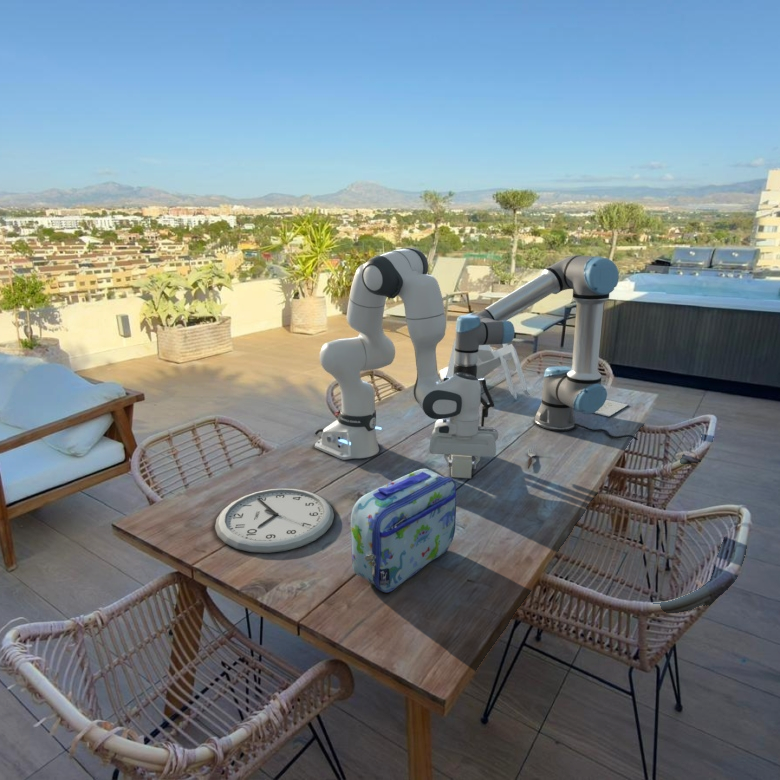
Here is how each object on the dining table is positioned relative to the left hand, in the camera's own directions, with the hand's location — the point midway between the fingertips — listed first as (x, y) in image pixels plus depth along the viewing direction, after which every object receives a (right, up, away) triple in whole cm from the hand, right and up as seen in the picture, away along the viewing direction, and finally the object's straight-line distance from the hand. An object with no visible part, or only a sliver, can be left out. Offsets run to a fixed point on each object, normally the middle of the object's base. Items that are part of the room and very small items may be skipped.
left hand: (461, 467), depth 162 cm
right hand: (+2, +12, +14) cm, 19 cm away
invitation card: (+69, +17, +64) cm, 96 cm away
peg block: (+1, +1, +9) cm, 9 cm away
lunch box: (-19, -16, -44) cm, 51 cm away
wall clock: (-52, -10, -26) cm, 59 cm away
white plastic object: (+20, +23, +81) cm, 87 cm away
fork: (+24, +1, +11) cm, 27 cm away
